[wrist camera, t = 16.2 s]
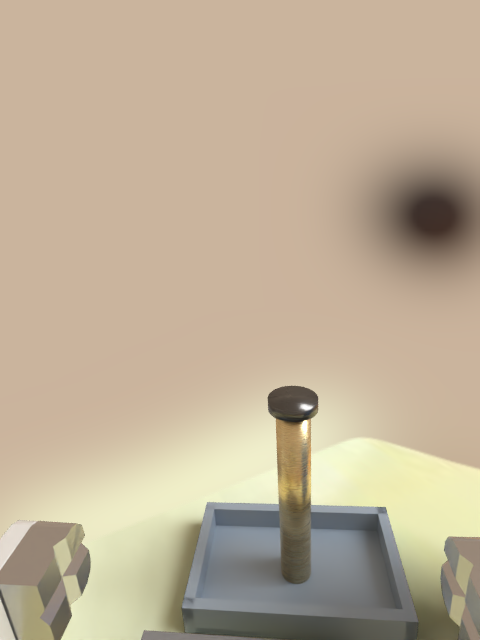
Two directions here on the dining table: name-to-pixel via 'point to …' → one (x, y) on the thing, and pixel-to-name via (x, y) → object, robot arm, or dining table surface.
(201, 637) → the block
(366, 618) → the tray
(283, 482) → the lock pin
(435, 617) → the dining table surface
